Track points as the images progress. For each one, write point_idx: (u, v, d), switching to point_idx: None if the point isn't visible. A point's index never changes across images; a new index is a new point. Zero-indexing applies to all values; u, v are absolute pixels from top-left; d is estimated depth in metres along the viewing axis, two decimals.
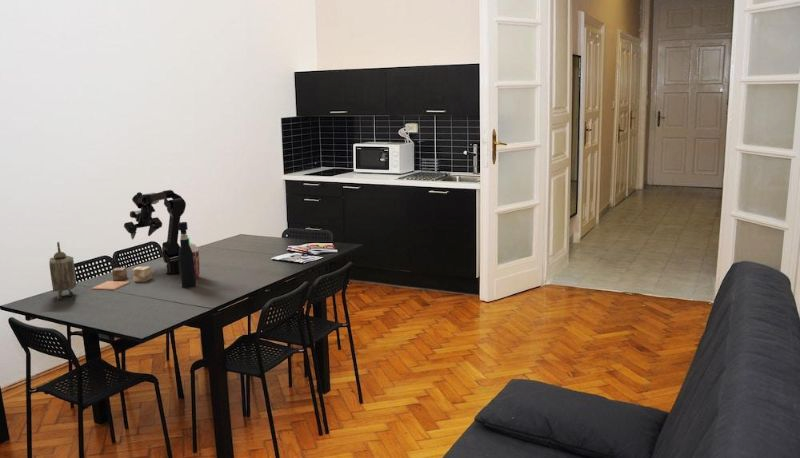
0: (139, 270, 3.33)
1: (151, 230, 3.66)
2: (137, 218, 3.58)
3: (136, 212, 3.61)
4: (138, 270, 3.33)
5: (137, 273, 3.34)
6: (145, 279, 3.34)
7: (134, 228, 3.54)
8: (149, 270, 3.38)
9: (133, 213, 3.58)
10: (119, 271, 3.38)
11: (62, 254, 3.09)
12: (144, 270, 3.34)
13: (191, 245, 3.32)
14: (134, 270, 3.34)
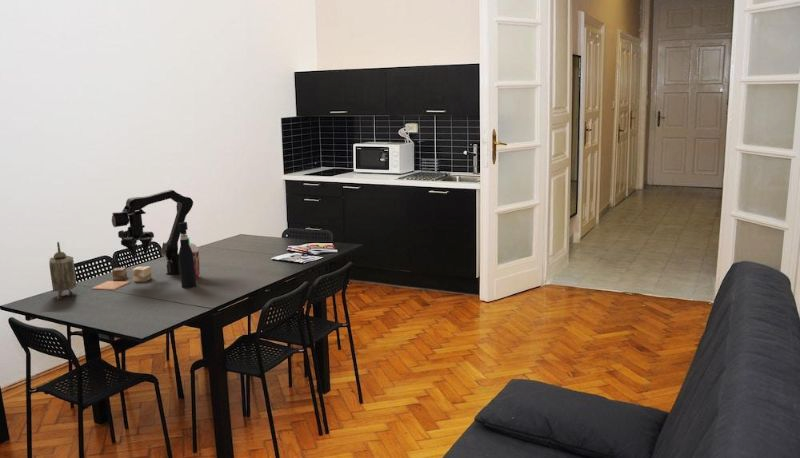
0: (139, 270, 3.33)
1: (146, 244, 3.39)
2: (129, 233, 3.31)
3: None
4: (138, 270, 3.33)
5: (137, 273, 3.34)
6: (145, 279, 3.34)
7: (134, 239, 3.26)
8: (149, 270, 3.38)
9: (122, 231, 3.31)
10: (119, 271, 3.38)
11: (62, 254, 3.09)
12: (144, 270, 3.34)
13: (191, 245, 3.32)
14: (134, 270, 3.34)
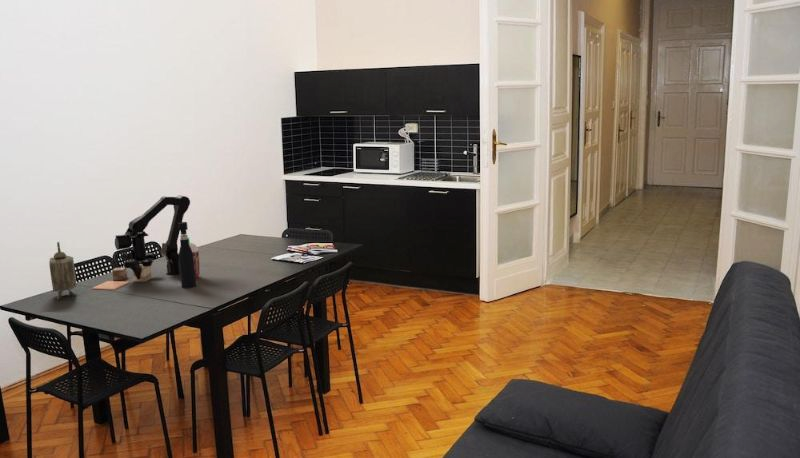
0: None
1: None
2: (132, 255, 3.33)
3: None
4: None
5: None
6: (145, 279, 3.34)
7: (137, 261, 3.28)
8: (149, 270, 3.38)
9: (125, 253, 3.33)
10: (119, 271, 3.38)
11: (62, 254, 3.09)
12: (144, 270, 3.34)
13: (191, 245, 3.32)
14: None
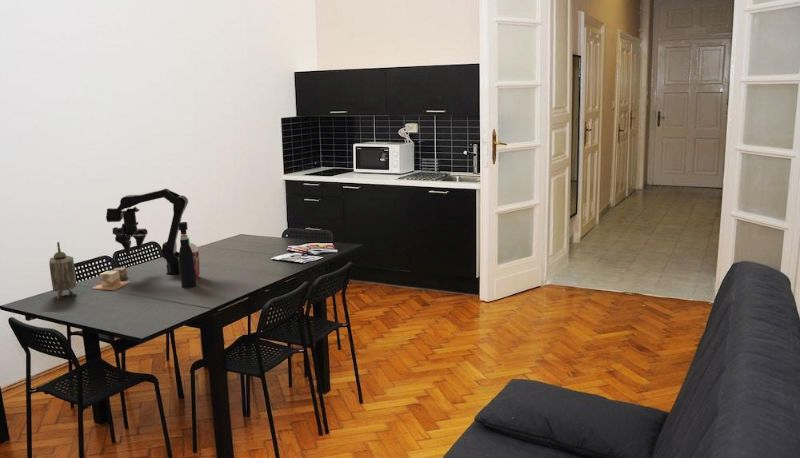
0: (107, 275, 3.24)
1: (140, 241, 3.47)
2: (123, 230, 3.39)
3: None
4: (106, 275, 3.24)
5: (105, 278, 3.24)
6: (113, 284, 3.25)
7: (128, 235, 3.35)
8: (117, 275, 3.28)
9: (116, 228, 3.39)
10: (119, 271, 3.38)
11: (62, 254, 3.09)
12: (112, 275, 3.24)
13: (191, 245, 3.32)
14: (102, 275, 3.24)
